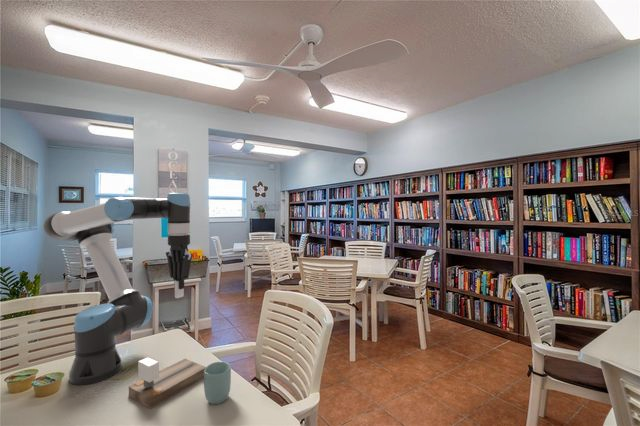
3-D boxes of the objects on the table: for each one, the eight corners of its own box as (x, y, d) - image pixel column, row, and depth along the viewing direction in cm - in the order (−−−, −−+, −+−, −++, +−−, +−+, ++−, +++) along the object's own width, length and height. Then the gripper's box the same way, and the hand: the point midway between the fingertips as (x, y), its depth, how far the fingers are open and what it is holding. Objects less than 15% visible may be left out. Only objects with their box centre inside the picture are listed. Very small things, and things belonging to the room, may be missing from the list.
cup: (222, 409, 88) (222, 376, 88) (199, 406, 89) (198, 373, 89) (235, 393, 95) (235, 362, 95) (213, 390, 97) (213, 360, 97)
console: (128, 395, 95) (128, 385, 94) (185, 366, 112) (185, 358, 112) (150, 408, 88) (150, 398, 88) (206, 375, 106) (206, 366, 106)
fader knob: (138, 385, 94) (138, 361, 94) (148, 380, 97) (147, 357, 97) (149, 391, 91) (148, 366, 91) (158, 386, 94) (158, 362, 94)
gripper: (199, 234, 111) (199, 297, 112) (177, 232, 117) (177, 292, 118) (181, 236, 104) (181, 302, 105) (158, 234, 111) (159, 296, 112)
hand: (179, 297), depth 112 cm, fingers closed
